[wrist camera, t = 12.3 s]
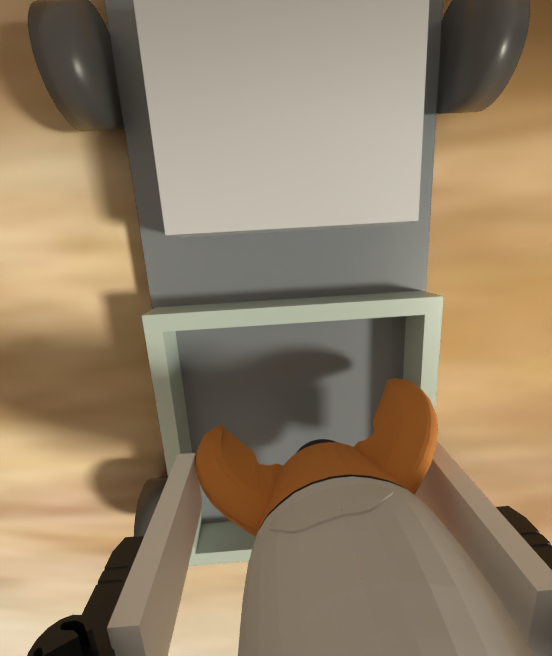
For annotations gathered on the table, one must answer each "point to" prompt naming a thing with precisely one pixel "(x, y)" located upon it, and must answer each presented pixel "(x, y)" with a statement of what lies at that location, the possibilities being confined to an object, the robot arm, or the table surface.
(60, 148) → the table surface
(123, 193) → the table surface
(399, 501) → the toy rocket
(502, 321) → the table surface
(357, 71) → the toy truck
